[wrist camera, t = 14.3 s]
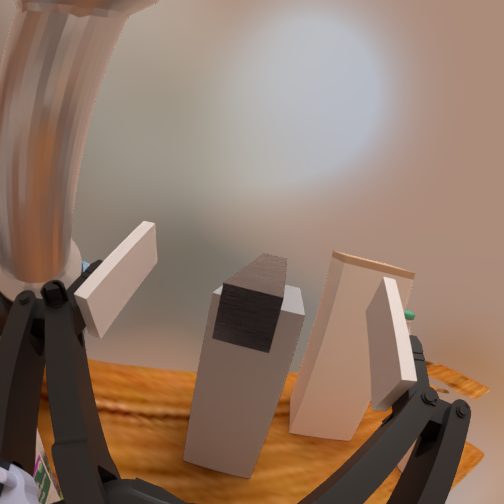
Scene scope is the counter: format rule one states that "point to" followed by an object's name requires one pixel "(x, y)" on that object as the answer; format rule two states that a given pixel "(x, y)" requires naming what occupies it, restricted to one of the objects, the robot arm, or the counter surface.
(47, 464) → the syrup box
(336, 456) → the counter surface
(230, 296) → the handle rail
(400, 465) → the white cup
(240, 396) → the tall grey pillar block
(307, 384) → the cabinet block
